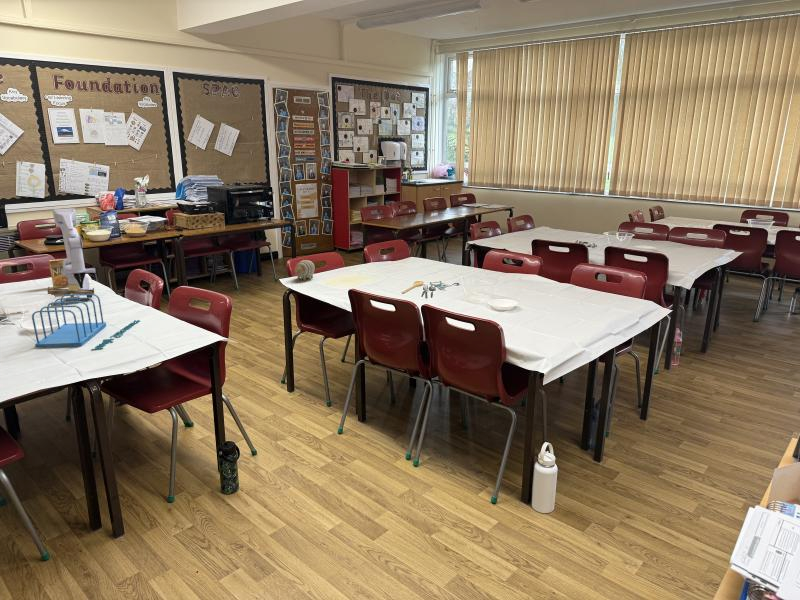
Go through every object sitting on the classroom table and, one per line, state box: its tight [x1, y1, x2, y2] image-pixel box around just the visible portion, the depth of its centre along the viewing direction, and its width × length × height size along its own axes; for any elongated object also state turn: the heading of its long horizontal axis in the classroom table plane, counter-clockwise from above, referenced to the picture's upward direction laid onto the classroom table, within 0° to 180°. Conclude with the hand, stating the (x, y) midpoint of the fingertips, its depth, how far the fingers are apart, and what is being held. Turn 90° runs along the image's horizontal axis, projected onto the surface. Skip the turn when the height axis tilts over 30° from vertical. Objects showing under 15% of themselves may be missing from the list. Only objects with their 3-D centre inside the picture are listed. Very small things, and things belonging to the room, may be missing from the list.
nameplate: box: [90, 319, 141, 351], centre depth 236 cm, size 37×1×5 cm
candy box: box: [48, 258, 70, 289], centre depth 308 cm, size 9×4×15 cm, turn 118°
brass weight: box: [67, 283, 79, 292], centre depth 282 cm, size 4×4×4 cm
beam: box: [47, 286, 95, 299], centre depth 282 cm, size 20×6×4 cm, turn 119°
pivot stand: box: [65, 292, 81, 306], centre depth 282 cm, size 6×11×5 cm, turn 29°
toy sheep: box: [294, 259, 316, 281], centre depth 329 cm, size 11×17×11 cm, turn 160°
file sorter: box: [31, 293, 107, 348], centre depth 231 cm, size 25×17×15 cm
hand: (81, 287), depth 284 cm, fingers closed
